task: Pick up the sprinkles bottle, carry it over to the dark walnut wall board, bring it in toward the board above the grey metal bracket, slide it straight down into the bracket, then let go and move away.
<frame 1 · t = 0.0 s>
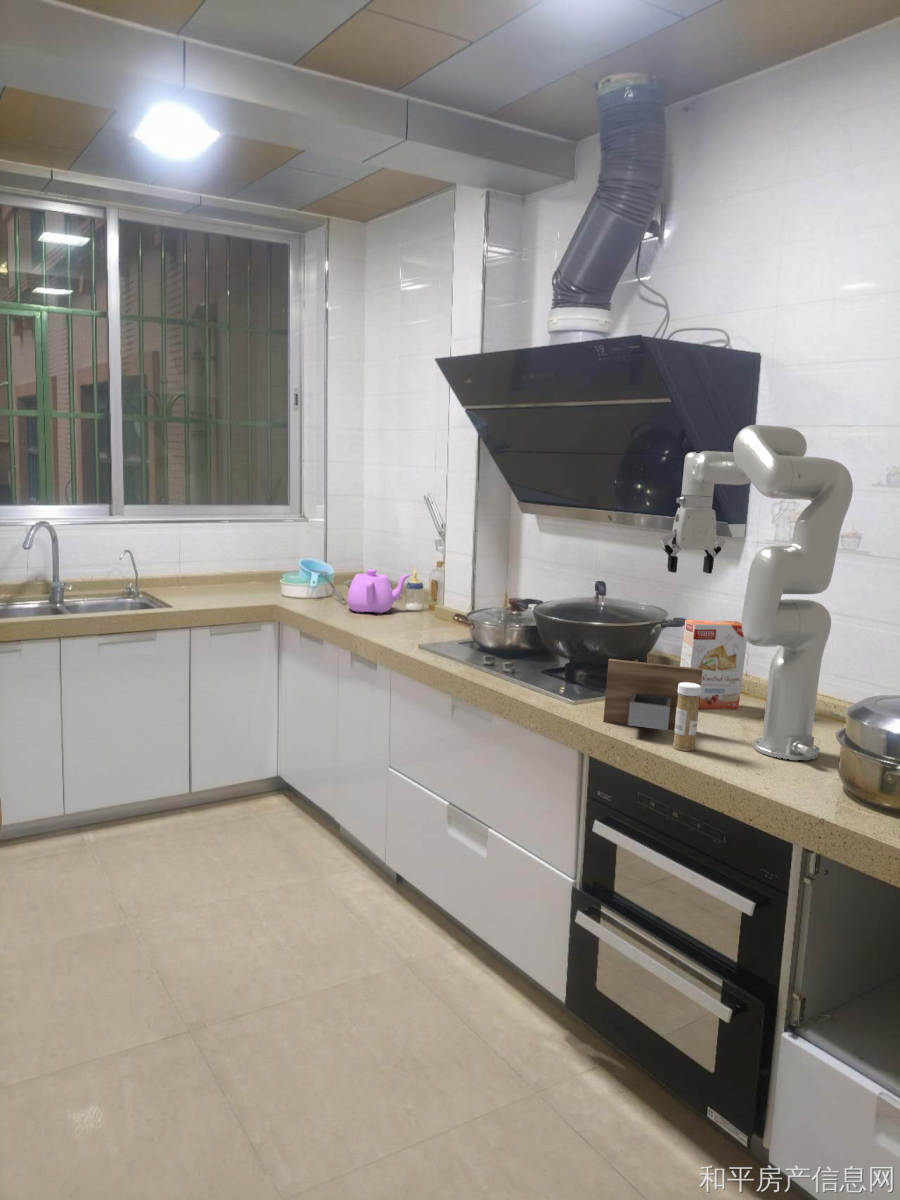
hand: (689, 572, 226), 31 cm above the table, tool pointing down, fingers open, 9 cm apart
sprinkles bottle: (683, 749, 186), on the table
wall holder: (647, 733, 195), on the table
teapot: (371, 611, 330), on the table
cracker box: (707, 707, 221), on the table
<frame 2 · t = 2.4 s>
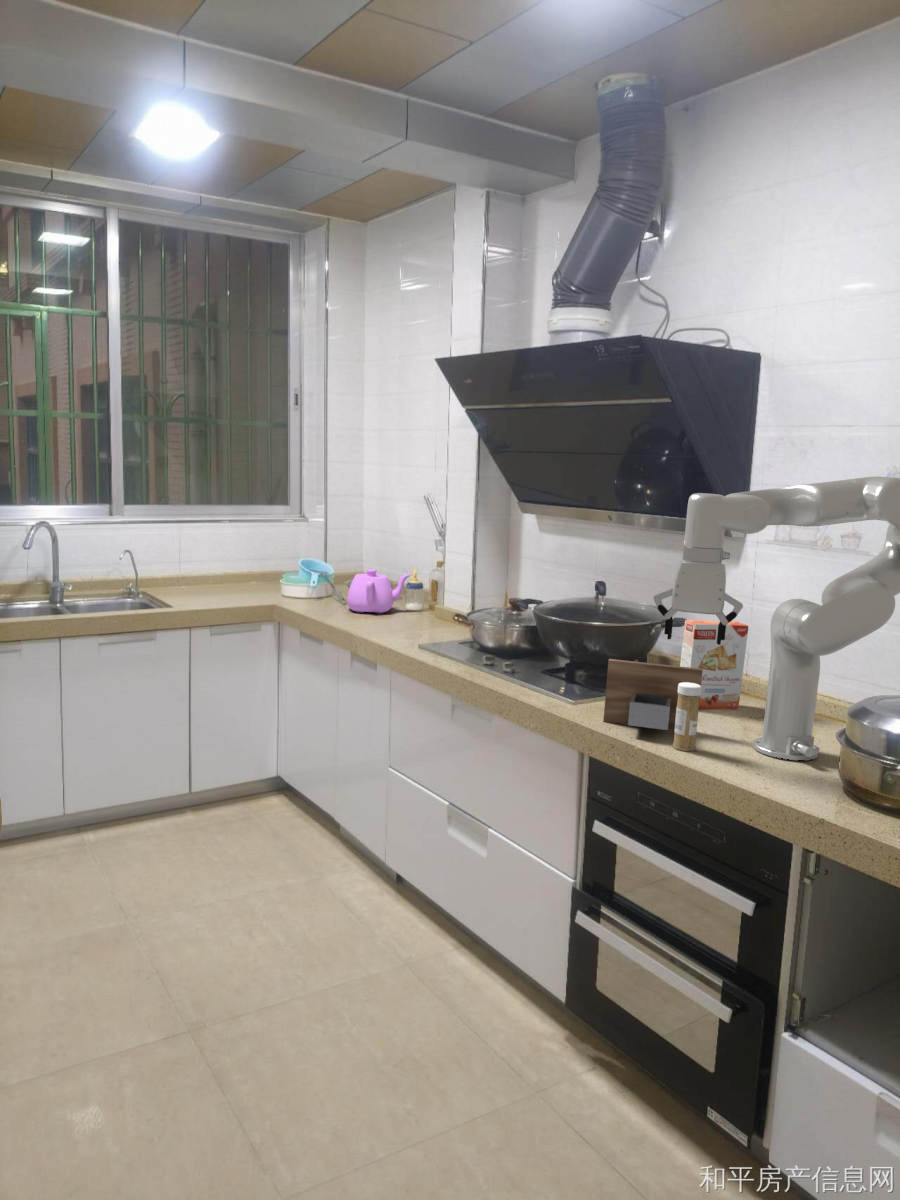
hand: (693, 640, 183), 22 cm above the table, tool pointing down, fingers open, 9 cm apart
nothing on the table moved.
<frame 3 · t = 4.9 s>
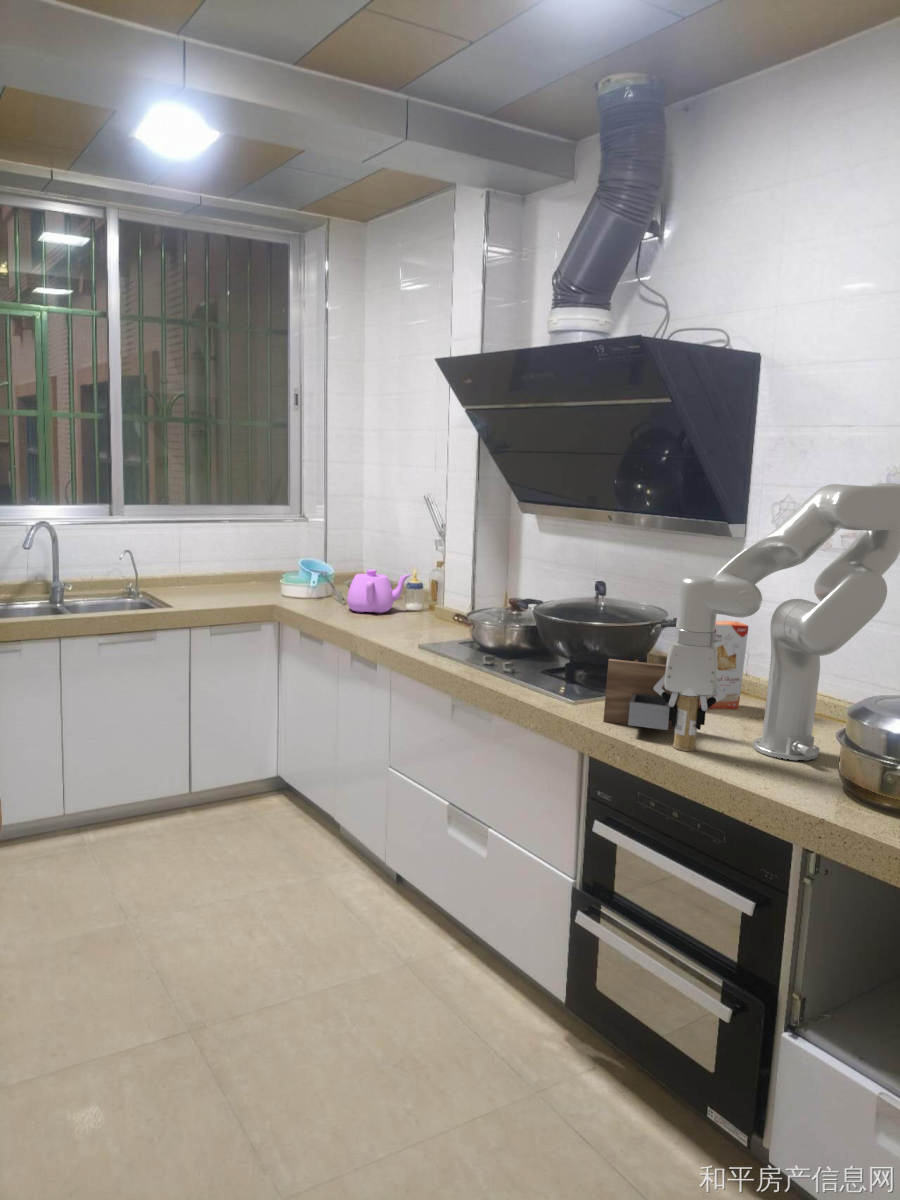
hand: (685, 725, 186), 5 cm above the table, tool pointing down, fingers closed on sprinkles bottle, 4 cm apart
sprinkles bottle: (683, 749, 186), on the table, touching gripper
everything else where it was.
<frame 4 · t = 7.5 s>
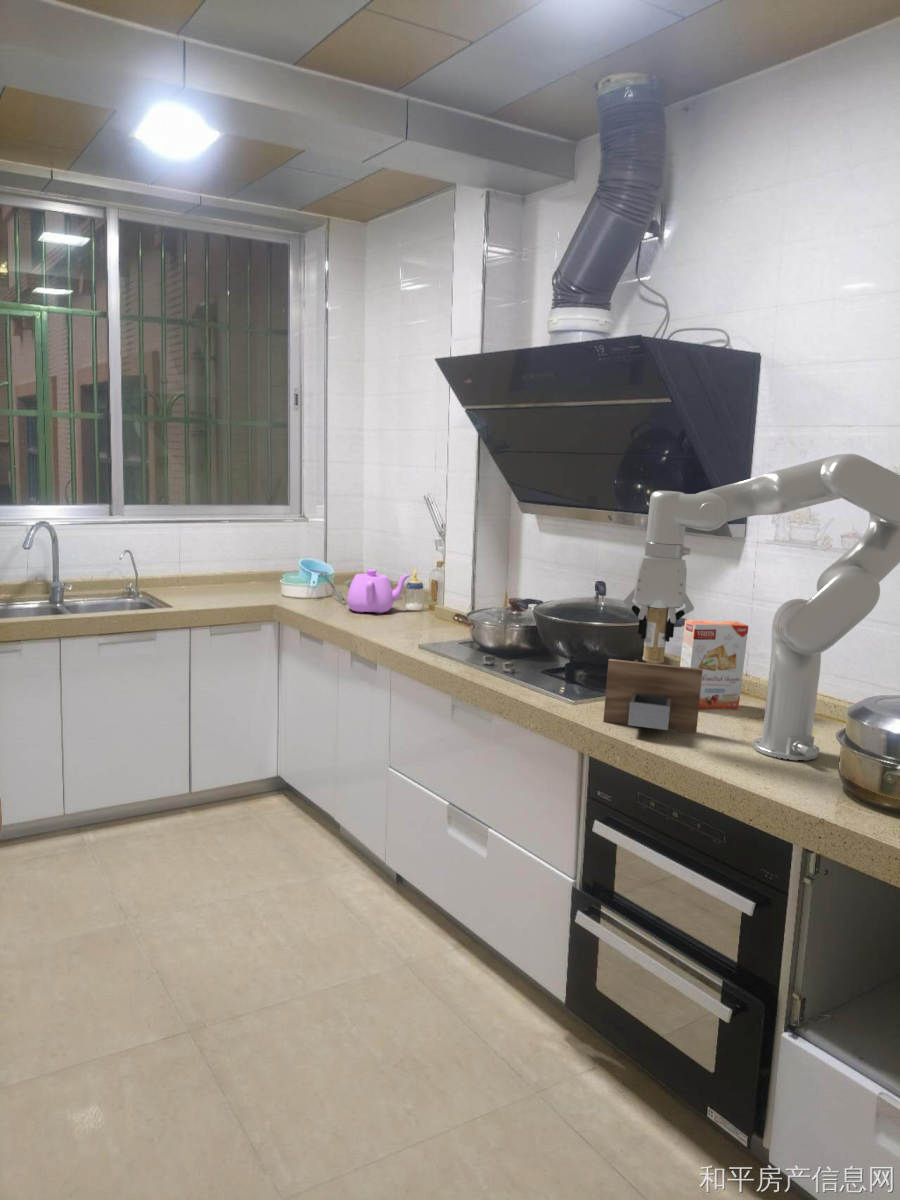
hand: (655, 638, 189), 21 cm above the table, tool pointing down, fingers closed on sprinkles bottle, 4 cm apart
sprinkles bottle: (652, 662, 190), point 16 cm above the table, touching gripper
everything else where it was.
when the fingers open (9 cm above the table, at t = 10.6 s): sprinkles bottle stays where it is, resting on wall holder.
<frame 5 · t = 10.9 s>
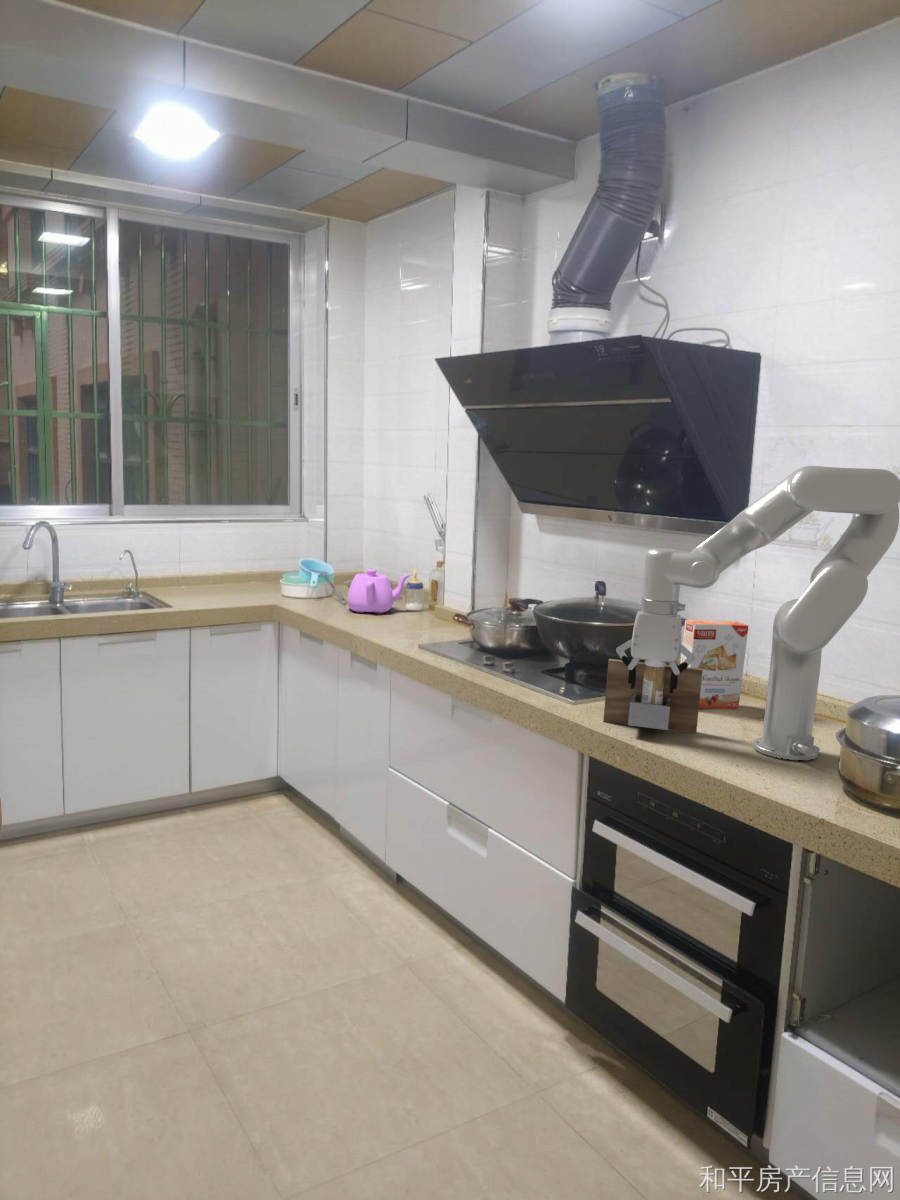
hand: (651, 689, 194), 10 cm above the table, tool pointing down, fingers open, 7 cm apart
sprinkles bottle: (650, 718, 195), point 3 cm above the table, touching wall holder
everything else where it was.
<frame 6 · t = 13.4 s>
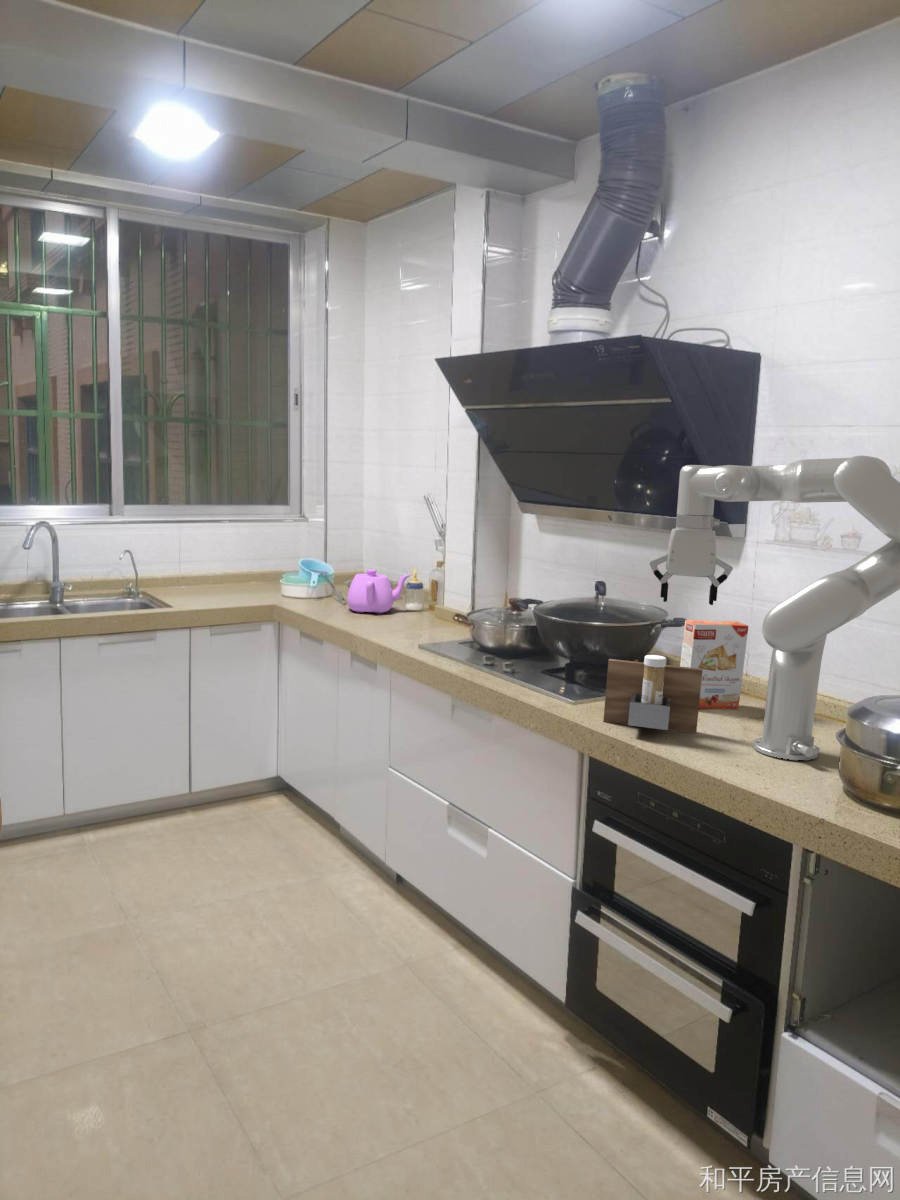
hand: (687, 602, 197), 28 cm above the table, tool pointing down, fingers open, 9 cm apart
nothing on the table moved.
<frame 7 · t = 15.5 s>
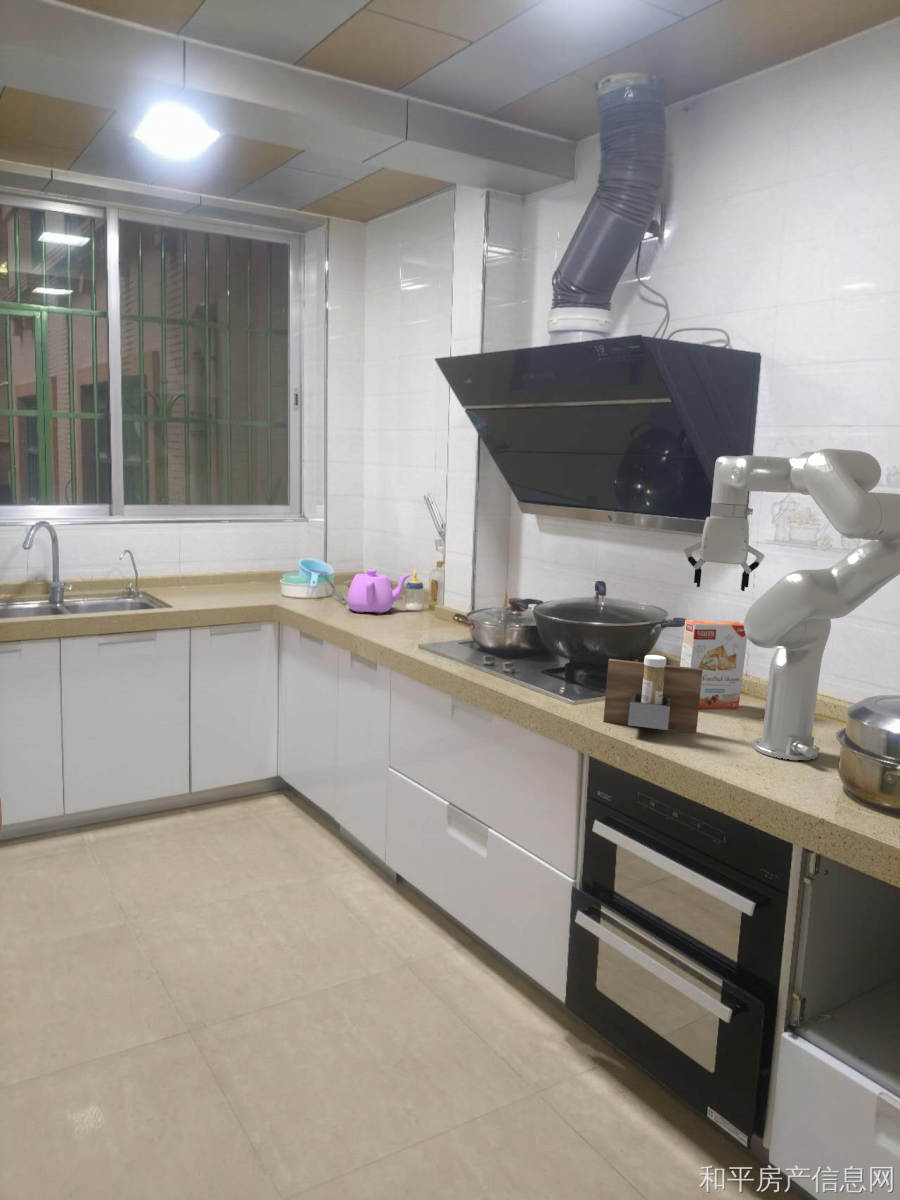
hand: (720, 588, 205), 30 cm above the table, tool pointing down, fingers open, 9 cm apart
nothing on the table moved.
at the end: sprinkles bottle 0.2 cm from the wall holder (horizontally); sprinkles bottle point 3.3 cm above the table; sprinkles bottle tilted 0° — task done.
